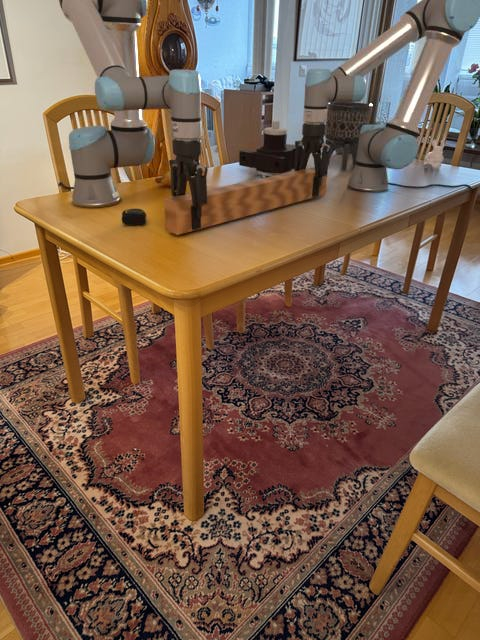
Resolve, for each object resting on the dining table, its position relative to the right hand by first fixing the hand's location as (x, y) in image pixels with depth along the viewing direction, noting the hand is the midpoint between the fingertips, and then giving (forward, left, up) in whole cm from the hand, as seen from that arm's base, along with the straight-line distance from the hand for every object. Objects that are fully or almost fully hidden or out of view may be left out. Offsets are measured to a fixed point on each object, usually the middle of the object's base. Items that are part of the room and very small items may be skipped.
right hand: (308, 194), depth 159 cm
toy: (+50, -14, -2) cm, 52 cm away
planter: (-19, -59, -2) cm, 62 cm away
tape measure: (+52, +34, -2) cm, 63 cm away
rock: (-27, -96, -2) cm, 99 cm away
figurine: (-61, -62, -2) cm, 86 cm away
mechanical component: (+10, -41, -2) cm, 42 cm away
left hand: (+36, +39, 0) cm, 53 cm away
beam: (+18, +19, -1) cm, 26 cm away
